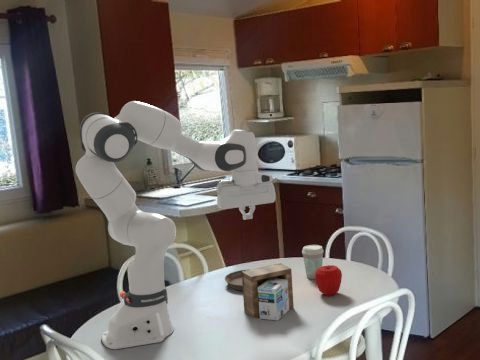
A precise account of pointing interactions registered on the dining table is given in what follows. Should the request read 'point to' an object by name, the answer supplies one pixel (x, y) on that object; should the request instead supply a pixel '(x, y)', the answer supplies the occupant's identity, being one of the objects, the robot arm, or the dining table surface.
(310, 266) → the coffee cup
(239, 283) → the plant saucer
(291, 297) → the walnut dock
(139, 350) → the dining table surface
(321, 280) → the apple
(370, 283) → the dining table surface
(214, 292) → the dining table surface
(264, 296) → the light bulb box
